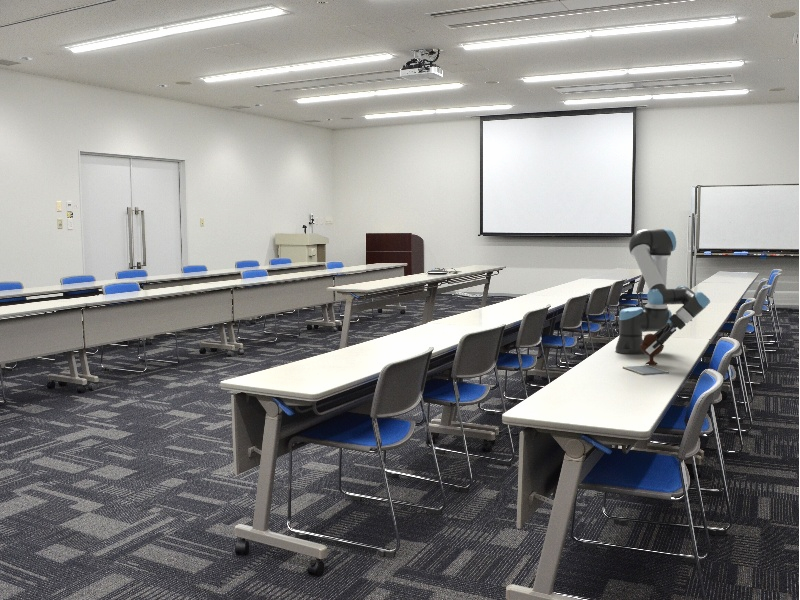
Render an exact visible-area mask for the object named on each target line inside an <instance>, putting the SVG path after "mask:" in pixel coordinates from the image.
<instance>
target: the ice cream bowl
mask: <svg viewBox="0 0 800 600" xmlns="http://www.w3.org/2000/svg"><path fill="white" fill-rule="evenodd" d="M654 334H655V333H647V334H645V335H644V336H643V342H642V344H640V348H641V350H642V351H643V352H644V353H643V354H645V355H647V356H649V360H648V361H646V362H645V365H646V364H649V366H657V365H656V364H658V363H657V362H656V361H655V360H654V357H656V356H657V355H659V354H660V353H661V352H662V351H663V350H664V349H665V344H661V345H660V346H659V347H658V348H656V349H655V350H654V351H653V352H652V353H651V354H649V353H648V352H647V351H646V349H647V348H648V347H649V346H651V345H652V344H653V343H654V342H655V341H656V339H657V337H656V336H655V335H654Z"/></svg>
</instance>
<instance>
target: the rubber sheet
mask: <svg viewBox="0 0 800 600" xmlns="http://www.w3.org/2000/svg"><path fill="white" fill-rule="evenodd" d="M622 369H624V370H627V371H629V372H632V371H633V372H632V373H635V372H636V374H638V373H639V375H641V374H642V376H647V375H646V374H652V375H661V374H660V373H666V374H669V373H670V372H669V371H668V370H665V369H661V368H658V367H654V366H653V365H646V364H645V365H633V366H632V365H630V366H622Z"/></svg>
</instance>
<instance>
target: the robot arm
mask: <svg viewBox="0 0 800 600" xmlns="http://www.w3.org/2000/svg"><path fill="white" fill-rule="evenodd" d="M676 248H677V237H676V235H675V233H674V232H673V230H671V229H667V228H656V229H655V228H653V229H652V228H651V229H646V228H644V229H639V230H637V231H636V232H635V233H633V234H632V236H631V238H630V240H629V243H628V250H629V253H630V255H631V257H632V258H634V259H635V261H636V264H637V266H638V268H639V270H640V272H641V274H642V277H643V280H644V282H645V283H646V286H647V288H648V291H647V295H646V297H647V303H646V304H645V305H644V309H643V307H640V306H635V307H634V306H633V307H626V308H623V309H621V310H620V311H619V317H618V320H619V322H618V325H619V327H618V328H619V329H618V330H619V332H618V334H619V335H618V336H619V337H618V340H617V343H616V346H615V353H617V354H618V353H620V354H626V355H639V354H645V353H644V352H643V351H642V350H641V348H640V344H642V342H643V340H644V338H643V332H644V333H645V332H646V333H649V332H650V333H651V332H655V333H653V334H654V335H655V336H656V337H657V339H656V341H655V342H654V343H653V344H652V345H651V346H649V347H648V348H647V349H646V351H647V352H648V353H649V354H651V353H652V352H653V351H654V350H655V349H656V348H658V347H659V346H660V345H661V344H662V345H665V344H664V343H665V342H667V341H668V339H669V338H670V337H672V335H673V334H674V333H675V332H676V331H677V329H679V330H680V331H681V330H682V329H683V328H684V327H686V324H689V323H690V322H693V319H694V318H695V317H697V316H698V315H699V314H700V313H701V312H702V311H703V310H705V309H706V308H707V307H708V305H709V304H710V303H711V300H710V298H709V297H708V296H707V295H706V294H704V292H702V291H697V292H694V291H693V290H692V289H691V288H689V287H688V286H686V285H679V286H677V287H676V288H667V275H668V274H667V273H668V259H669V257H671V256H672V252H674V251H675V250H676ZM668 305H682V306H680V307H679V308H678V309H677V310H676V311H675V313H673V312H672V311H671V310H670V309H669V306H668ZM672 313H673V314H672Z"/></svg>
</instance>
